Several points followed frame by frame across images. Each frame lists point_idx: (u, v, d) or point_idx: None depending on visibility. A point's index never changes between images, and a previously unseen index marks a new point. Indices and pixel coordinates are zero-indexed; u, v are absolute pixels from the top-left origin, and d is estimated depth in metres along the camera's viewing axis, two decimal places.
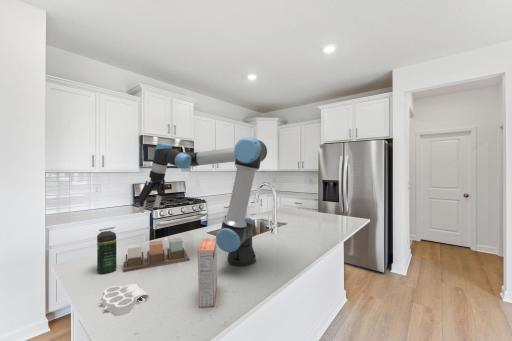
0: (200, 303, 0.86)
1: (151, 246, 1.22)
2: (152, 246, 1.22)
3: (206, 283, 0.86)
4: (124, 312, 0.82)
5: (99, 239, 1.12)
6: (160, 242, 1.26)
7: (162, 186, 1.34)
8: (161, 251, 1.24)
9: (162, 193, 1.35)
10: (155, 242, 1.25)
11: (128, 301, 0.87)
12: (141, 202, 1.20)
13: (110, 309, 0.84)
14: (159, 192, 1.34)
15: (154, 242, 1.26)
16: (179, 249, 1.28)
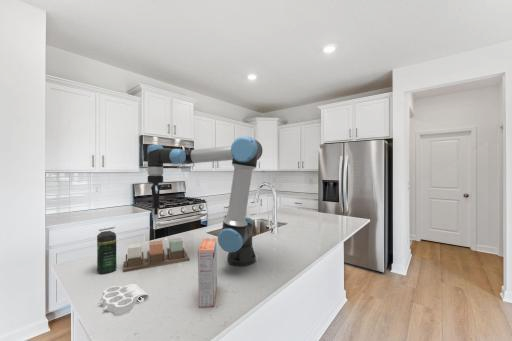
0: (200, 303, 0.86)
1: (151, 246, 1.22)
2: (152, 246, 1.22)
3: (206, 283, 0.86)
4: (124, 312, 0.82)
5: (99, 239, 1.12)
6: (160, 242, 1.26)
7: None
8: (161, 251, 1.24)
9: None
10: (155, 242, 1.25)
11: (128, 301, 0.87)
12: (156, 210, 1.23)
13: (110, 309, 0.84)
14: None
15: (154, 242, 1.26)
16: (179, 249, 1.28)
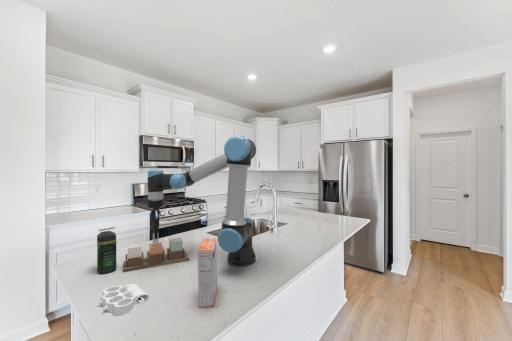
0: (200, 303, 0.86)
1: (151, 248, 1.22)
2: (152, 248, 1.22)
3: (206, 283, 0.86)
4: (124, 312, 0.82)
5: (99, 239, 1.12)
6: (160, 244, 1.26)
7: None
8: (161, 253, 1.24)
9: None
10: (155, 245, 1.25)
11: (128, 301, 0.87)
12: (156, 234, 1.24)
13: (110, 309, 0.84)
14: None
15: None
16: (179, 249, 1.28)
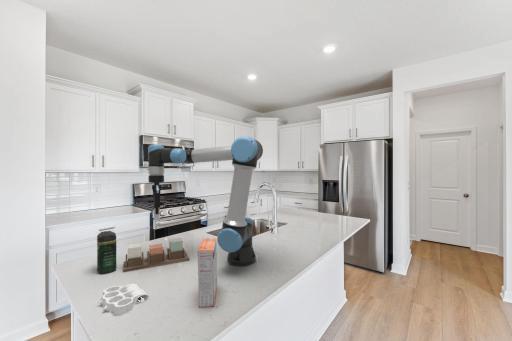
0: (200, 303, 0.86)
1: (151, 249, 1.22)
2: (152, 250, 1.22)
3: (206, 283, 0.86)
4: (123, 312, 0.82)
5: (99, 239, 1.12)
6: (160, 245, 1.26)
7: None
8: None
9: None
10: (155, 246, 1.25)
11: (128, 301, 0.87)
12: (157, 210, 1.24)
13: (110, 309, 0.84)
14: None
15: (154, 245, 1.26)
16: (179, 249, 1.28)
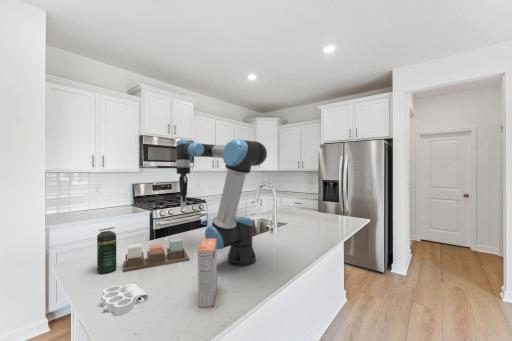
0: (200, 303, 0.86)
1: (151, 249, 1.22)
2: (152, 250, 1.22)
3: (206, 283, 0.86)
4: (123, 312, 0.82)
5: (99, 239, 1.12)
6: (160, 245, 1.26)
7: None
8: None
9: None
10: (155, 246, 1.25)
11: (128, 301, 0.87)
12: (184, 198, 1.40)
13: (110, 309, 0.84)
14: None
15: (154, 245, 1.26)
16: (179, 249, 1.28)
